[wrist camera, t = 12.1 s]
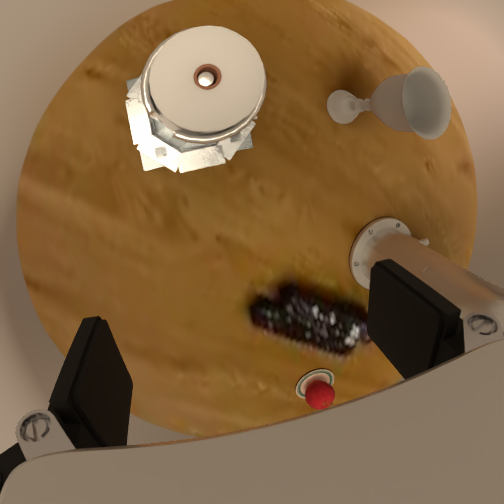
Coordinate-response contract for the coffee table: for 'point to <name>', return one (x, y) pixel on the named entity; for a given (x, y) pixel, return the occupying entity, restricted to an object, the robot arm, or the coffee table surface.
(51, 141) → the coffee table surface
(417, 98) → the chalice
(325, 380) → the apple
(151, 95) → the silver metal cylinder
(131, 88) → the collar stand
